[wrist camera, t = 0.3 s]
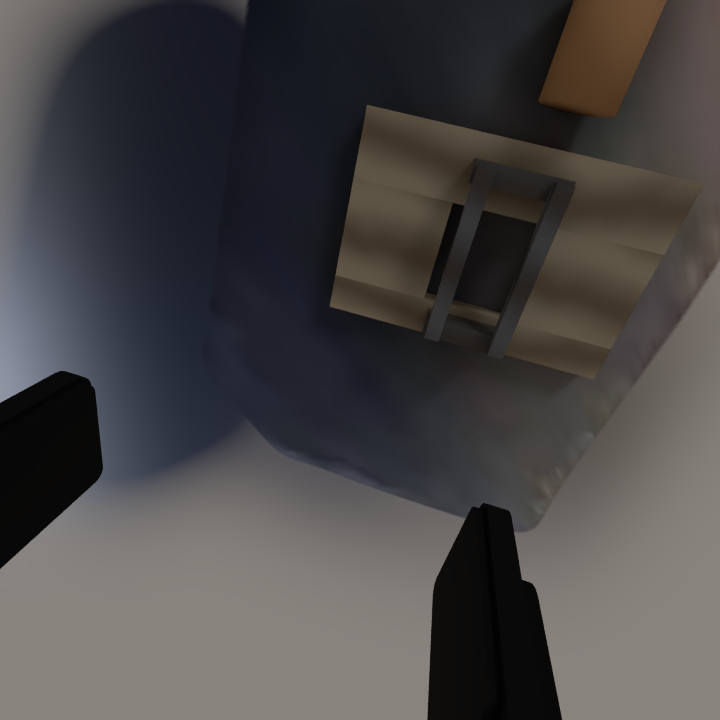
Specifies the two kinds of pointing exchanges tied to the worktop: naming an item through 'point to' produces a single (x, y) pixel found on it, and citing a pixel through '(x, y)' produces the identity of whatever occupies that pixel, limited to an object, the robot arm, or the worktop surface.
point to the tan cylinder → (599, 55)
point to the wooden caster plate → (513, 199)
